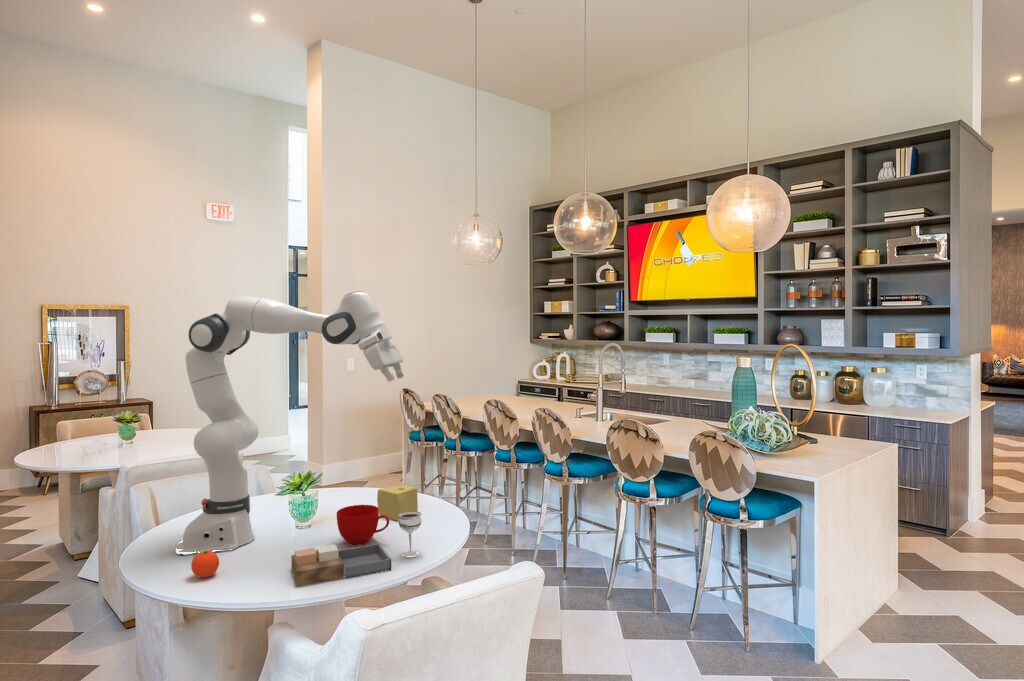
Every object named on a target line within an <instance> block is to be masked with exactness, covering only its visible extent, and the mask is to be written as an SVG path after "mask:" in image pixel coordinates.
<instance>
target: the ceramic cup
mask: <svg viewBox="0 0 1024 681" xmlns="http://www.w3.org/2000/svg"><path fill="white" fill-rule="evenodd" d="M336 511H337V512H336V525H337V529H338V531H339V534H340V536H341V538H342V539H343V541H345V542H346V543H347V545H349V546H356V547H357V546H363V545H366V544H368V543H369V542H370V541H371V539H372V538H373V537H374V535H375V534H377V533H380V532H383V531H384V530H387V528H388V527H389V525H390V519H389V518H388V516H386V515H379V508H378V506H375V505H373V504H354V505H349V506H345V507H342V508H340V509H338V510H336ZM382 518H383V519H385V520H386V524H385V525H384V527H382V528H379V529H378V525H379V520H380V519H382Z"/></svg>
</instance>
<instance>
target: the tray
mask: <svg viewBox="0 0 1024 681" xmlns="http://www.w3.org/2000/svg"><path fill="white" fill-rule="evenodd" d="M338 554H339V556H340V558H341V560H342V561H343V563H344V578H345V579H350V578H349V577H351V578H356V577H360V576H361V575H362V576H366V575H367V576H368V575H372V574H376V572H378V573H382V572H381V571H383V572H386V571H385V570H388V571H392V570H391V569H392V558H391V557H390V556H389V555H388V553H387V552H386V550H385V549H384V547H382V545H381V544H380V543H375V544H369V545H364V546H363V545H361V546H356V547H351V548H350V547H349V548H345V549H338ZM371 573H372V574H371ZM355 576H356V577H355Z"/></svg>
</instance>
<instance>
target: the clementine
mask: <svg viewBox="0 0 1024 681" xmlns="http://www.w3.org/2000/svg"><path fill="white" fill-rule="evenodd" d="M199 552H200V553H198V552H197V553H198V554H196V553H195V554H193V555H192V556H193V557H192V560H191V565H190V567H191V568H190V569H191V571H192V574H194V575H195V576H196V577H198V576H199V578H207V577H206V576H208V577H211V576H213V575H214V574H215V573H216V571H217V570H218V569H219V566H220V557H219V556H218V554H217V552H212V551H204V550H203V551H199ZM210 575H211V576H210Z"/></svg>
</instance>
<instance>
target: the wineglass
mask: <svg viewBox="0 0 1024 681" xmlns="http://www.w3.org/2000/svg"><path fill="white" fill-rule="evenodd" d="M421 515H422V513H421V511H418V510H417V511H405V512H402V513H400V514H399V517H400V518H399V521H397V522H398V526H399V528H400V529H401V530H402V531H404V532H406V533H407V534H408V541H409V542H408V543H409V551H406V552H404V554H403V553H402V554H403V555H404V556H414V555H417V553H416V552H417V551H415V550H412V536H413V535H412V534H413V533H414V532H415V531H416V530H418V529H419V527H420V526H421V525H422V517H421Z"/></svg>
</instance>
